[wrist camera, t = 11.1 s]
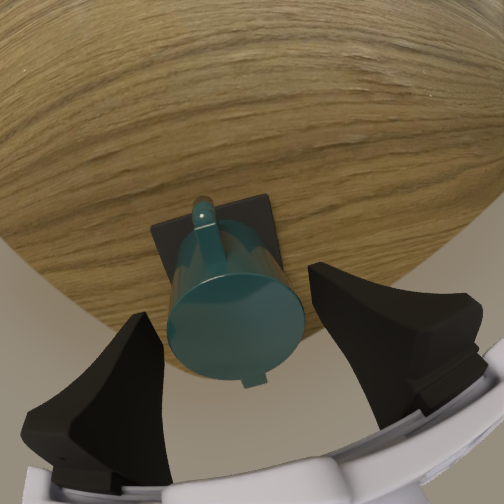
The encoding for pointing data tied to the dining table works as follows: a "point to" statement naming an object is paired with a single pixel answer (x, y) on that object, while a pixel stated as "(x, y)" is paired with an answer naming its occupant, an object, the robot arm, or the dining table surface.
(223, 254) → the teal tabbed cylinder
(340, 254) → the dining table surface
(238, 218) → the coaster
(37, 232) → the dining table surface
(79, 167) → the dining table surface
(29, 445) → the robot arm
